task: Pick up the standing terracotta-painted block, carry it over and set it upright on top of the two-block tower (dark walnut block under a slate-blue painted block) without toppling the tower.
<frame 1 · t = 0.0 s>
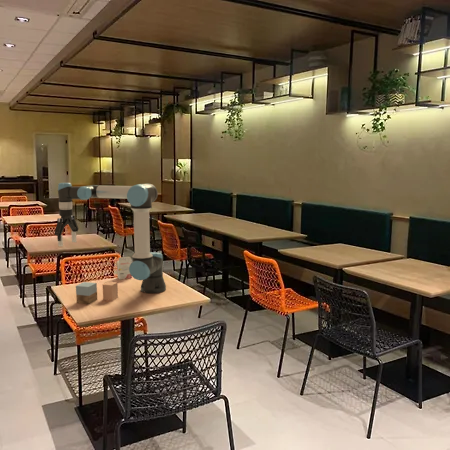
hand: (67, 244, 268), 28 cm above the table, fingers open, 13 cm apart
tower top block: (86, 293, 249), point 5 cm above the table, touching tower base block
tower base block: (87, 301, 249), on the table, touching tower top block
terracotta block: (110, 298, 254), on the table
ink cartridge box: (124, 278, 299), on the table
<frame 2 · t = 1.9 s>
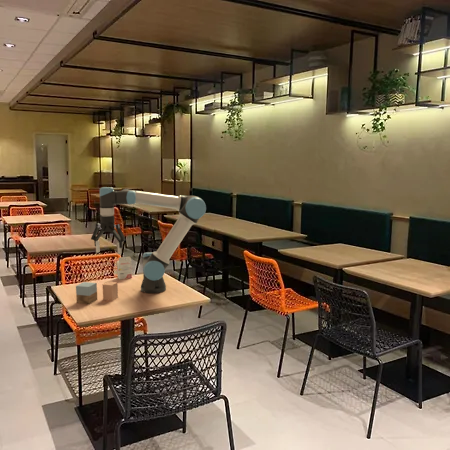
hand: (108, 253, 251), 27 cm above the table, fingers open, 13 cm apart
nothing on the table moved.
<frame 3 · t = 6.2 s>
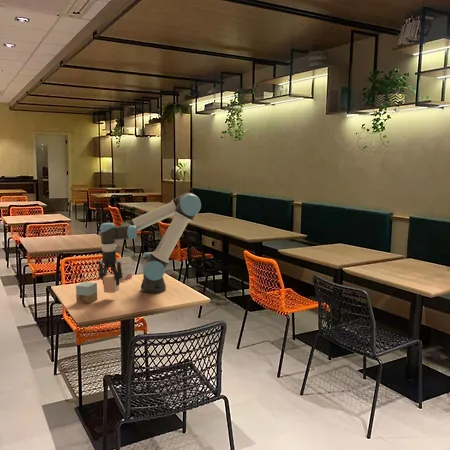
hand: (111, 290, 254), 5 cm above the table, fingers closed on terracotta block, 6 cm apart
terracotta block: (111, 291, 254), point 4 cm above the table, touching gripper
everything else where it was.
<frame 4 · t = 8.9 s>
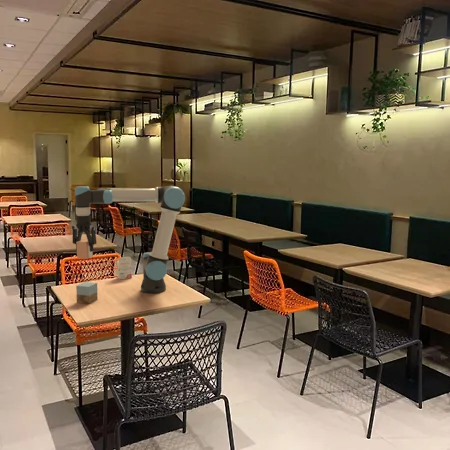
hand: (85, 256, 246), 26 cm above the table, fingers closed on terracotta block, 6 cm apart
terracotta block: (85, 257, 246), point 25 cm above the table, touching gripper
everything else where it was.
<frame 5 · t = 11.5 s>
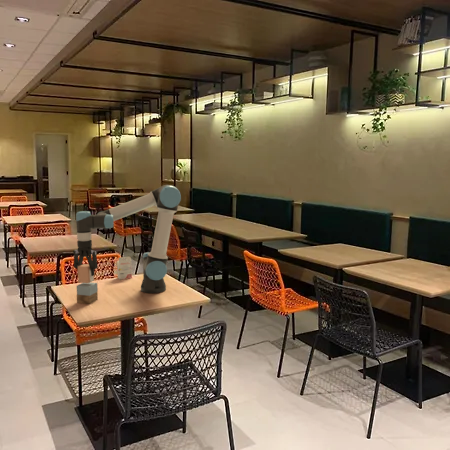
hand: (86, 280, 248), 12 cm above the table, fingers closed on terracotta block, 6 cm apart
terracotta block: (86, 281, 248), point 12 cm above the table, touching gripper
everything else where it was.
when the fingers open (12 cm above the table, at t = 12.2 s): terracotta block drops 2 cm, resting on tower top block.
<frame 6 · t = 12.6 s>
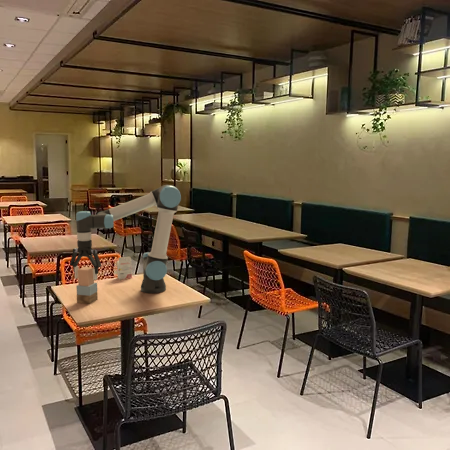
hand: (86, 278, 247), 13 cm above the table, fingers open, 11 cm apart
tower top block: (87, 293, 249), point 5 cm above the table, touching terracotta block, tower base block
terracotta block: (86, 284, 248), point 10 cm above the table, touching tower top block
everything else where it was.
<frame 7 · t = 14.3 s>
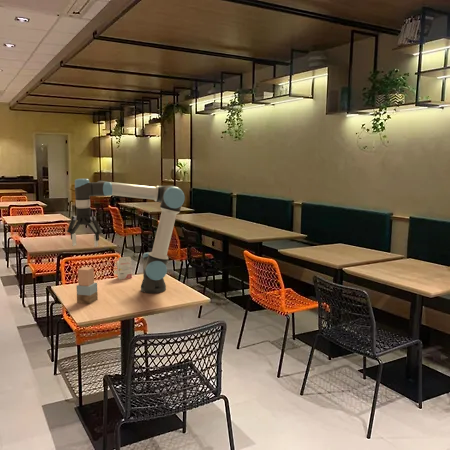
hand: (85, 246, 245), 31 cm above the table, fingers open, 13 cm apart
nothing on the table moved.
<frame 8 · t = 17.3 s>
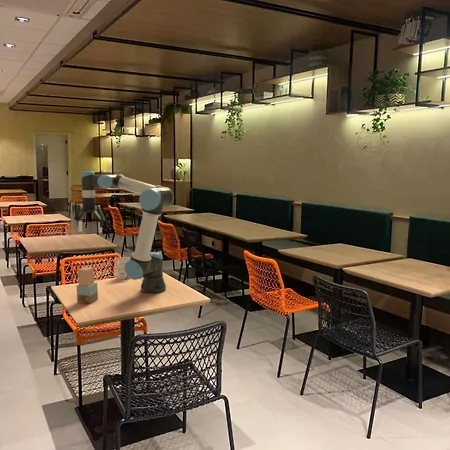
hand: (90, 232, 271), 35 cm above the table, fingers open, 13 cm apart
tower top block: (87, 293, 249), point 5 cm above the table
tower base block: (87, 301, 250), on the table
terracotta block: (86, 284, 248), point 10 cm above the table
everything else where it was.
at the end: terracotta block 0.4 cm from the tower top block (horizontally); terracotta block touching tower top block; terracotta block tilted 0° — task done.
